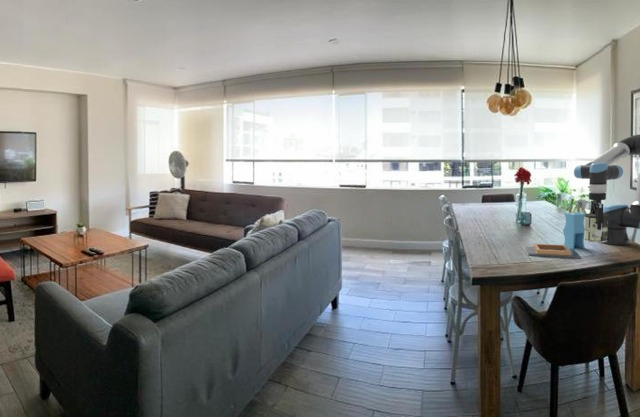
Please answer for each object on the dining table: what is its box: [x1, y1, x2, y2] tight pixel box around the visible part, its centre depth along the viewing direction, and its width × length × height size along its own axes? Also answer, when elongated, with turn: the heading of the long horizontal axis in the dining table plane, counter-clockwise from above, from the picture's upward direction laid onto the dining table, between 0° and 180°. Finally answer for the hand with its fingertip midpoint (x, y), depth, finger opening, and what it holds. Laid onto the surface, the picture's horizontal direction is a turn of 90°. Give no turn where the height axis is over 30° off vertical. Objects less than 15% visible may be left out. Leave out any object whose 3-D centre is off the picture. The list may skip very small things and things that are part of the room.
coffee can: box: [584, 212, 608, 244], centre depth 212 cm, size 10×10×14 cm
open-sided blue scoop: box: [562, 211, 586, 250], centre depth 232 cm, size 8×8×20 cm
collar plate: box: [525, 243, 581, 259], centre depth 221 cm, size 24×17×3 cm
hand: (595, 233), depth 212 cm, fingers closed on coffee can, 10 cm apart
